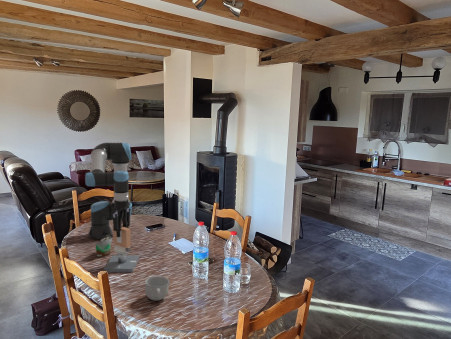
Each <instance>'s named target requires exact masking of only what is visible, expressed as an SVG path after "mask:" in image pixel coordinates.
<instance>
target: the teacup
mask: <svg viewBox="0 0 451 339" xmlns="http://www.w3.org/2000/svg"><path fill="white" fill-rule="evenodd" d="M144 283H145V284H144V289H145V290H144V291H145V292H144V294H145V296H146V297H147V298H149V300H151V301H161V300H162V299H164V298H165V297H167V296H168V293H169V288H170V280H169V278H167V277H165V276H162V275H160V276H159V275H154V276H150V277H148V278H146V279H145V281H144Z"/></svg>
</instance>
